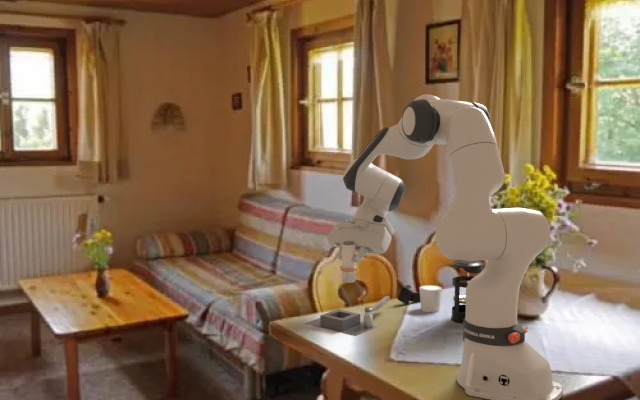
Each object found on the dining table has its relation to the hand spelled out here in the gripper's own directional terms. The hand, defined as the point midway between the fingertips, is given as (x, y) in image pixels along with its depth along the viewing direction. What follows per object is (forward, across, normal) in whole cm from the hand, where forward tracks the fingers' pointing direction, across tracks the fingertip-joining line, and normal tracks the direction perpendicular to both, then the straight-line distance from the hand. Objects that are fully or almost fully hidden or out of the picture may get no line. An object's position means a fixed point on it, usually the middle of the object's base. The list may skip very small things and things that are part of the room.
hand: (347, 260), depth 197 cm
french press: (-3, +28, +28) cm, 40 cm away
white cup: (-4, +14, +29) cm, 33 cm away
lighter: (-5, +5, +31) cm, 32 cm away
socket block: (+18, +4, +6) cm, 20 cm away
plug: (+4, 0, +5) cm, 6 cm away
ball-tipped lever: (+7, +9, +11) cm, 16 cm away
